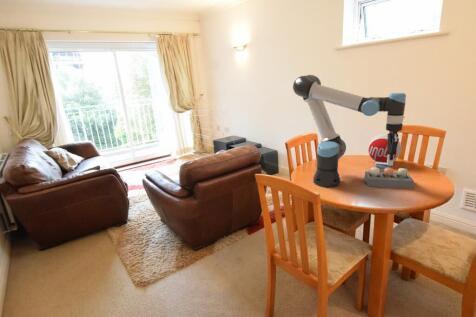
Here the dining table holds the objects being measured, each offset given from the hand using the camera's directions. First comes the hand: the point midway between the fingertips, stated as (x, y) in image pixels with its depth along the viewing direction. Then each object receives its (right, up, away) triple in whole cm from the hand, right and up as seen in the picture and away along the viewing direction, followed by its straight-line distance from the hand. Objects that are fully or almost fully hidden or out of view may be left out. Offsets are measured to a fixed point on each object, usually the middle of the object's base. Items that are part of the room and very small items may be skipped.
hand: (389, 164), depth 147 cm
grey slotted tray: (+1, -10, +3) cm, 11 cm away
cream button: (-6, -7, +4) cm, 11 cm away
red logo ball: (+16, 0, +36) cm, 39 cm away
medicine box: (+2, -8, +13) cm, 15 cm away
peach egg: (0, -8, +2) cm, 8 cm away
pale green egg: (+7, -8, +1) cm, 11 cm away
